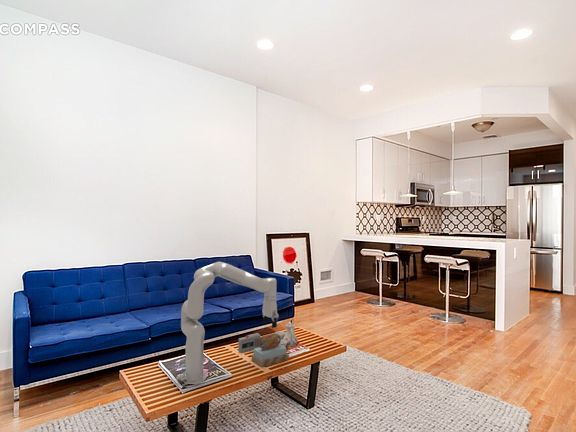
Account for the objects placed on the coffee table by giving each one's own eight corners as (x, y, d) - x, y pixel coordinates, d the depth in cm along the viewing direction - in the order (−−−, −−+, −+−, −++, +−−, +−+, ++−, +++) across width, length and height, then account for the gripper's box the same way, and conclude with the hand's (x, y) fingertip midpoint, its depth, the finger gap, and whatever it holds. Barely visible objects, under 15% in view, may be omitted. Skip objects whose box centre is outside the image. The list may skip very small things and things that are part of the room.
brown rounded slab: (260, 351, 209) (260, 337, 209) (257, 349, 211) (258, 336, 211) (280, 346, 217) (281, 333, 217) (278, 344, 220) (278, 331, 220)
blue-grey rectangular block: (261, 360, 205) (261, 354, 205) (253, 355, 213) (253, 348, 213) (286, 354, 215) (286, 347, 215) (278, 349, 223) (278, 343, 223)
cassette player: (240, 353, 224) (240, 338, 225) (238, 352, 227) (238, 337, 227) (260, 348, 234) (260, 333, 234) (258, 346, 236) (258, 332, 236)
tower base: (261, 368, 203) (261, 362, 203) (251, 361, 213) (251, 355, 213) (288, 360, 215) (288, 354, 215) (278, 354, 224) (278, 348, 225)
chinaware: (272, 340, 253) (270, 318, 253) (294, 336, 256) (292, 314, 256) (277, 355, 226) (275, 330, 225) (302, 351, 228) (299, 326, 228)
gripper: (257, 296, 219) (257, 323, 219) (273, 301, 205) (272, 330, 205) (267, 294, 223) (267, 321, 223) (283, 299, 209) (282, 327, 209)
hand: (269, 325), depth 214 cm, fingers open, 9 cm apart
